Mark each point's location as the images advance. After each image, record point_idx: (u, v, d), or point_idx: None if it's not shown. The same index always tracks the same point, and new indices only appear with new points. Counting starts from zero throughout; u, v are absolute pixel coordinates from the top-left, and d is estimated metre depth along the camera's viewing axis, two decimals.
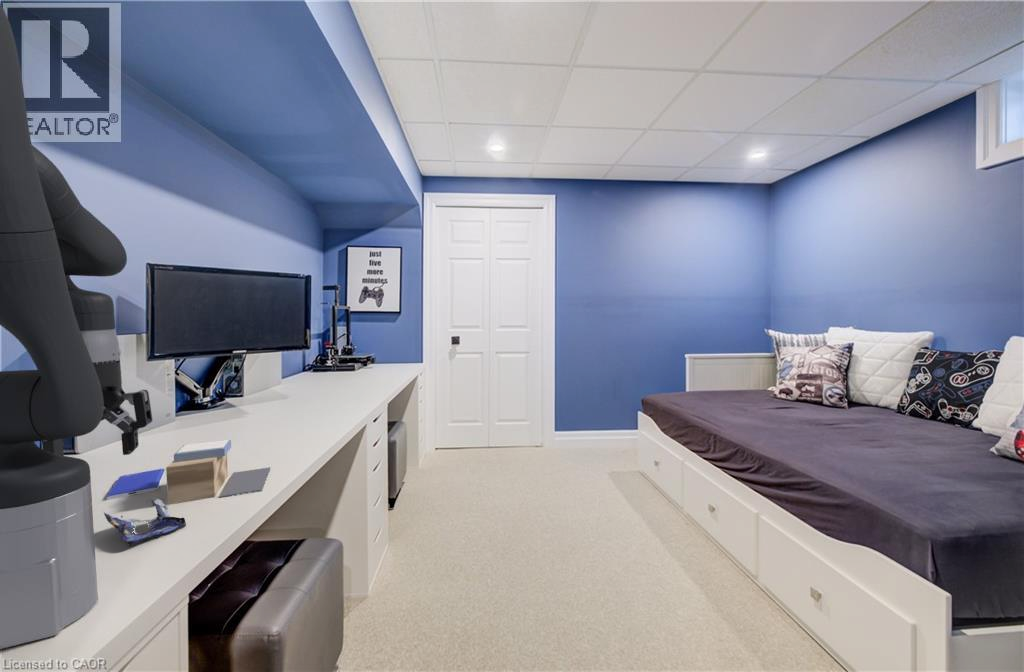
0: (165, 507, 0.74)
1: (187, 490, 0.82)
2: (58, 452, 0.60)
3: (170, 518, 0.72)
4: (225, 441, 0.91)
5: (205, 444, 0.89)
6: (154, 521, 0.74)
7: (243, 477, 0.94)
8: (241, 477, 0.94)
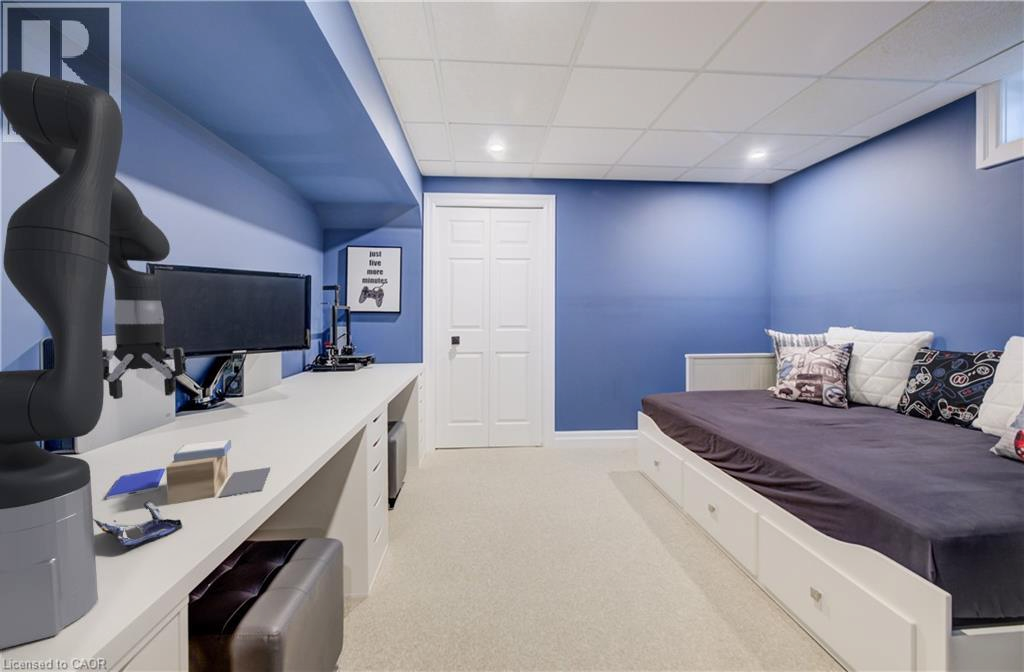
0: (157, 510, 0.73)
1: (187, 490, 0.82)
2: (119, 391, 0.81)
3: (165, 521, 0.71)
4: (225, 441, 0.91)
5: (205, 444, 0.89)
6: (146, 525, 0.72)
7: (243, 477, 0.94)
8: (241, 477, 0.94)
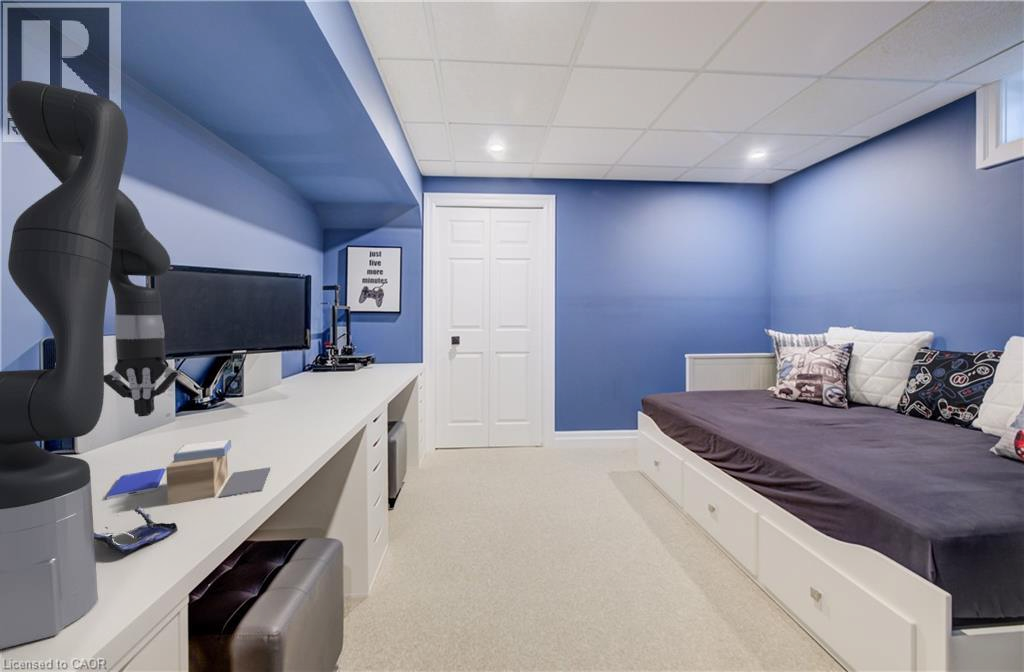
0: (148, 515, 0.71)
1: (187, 490, 0.82)
2: None
3: (159, 525, 0.70)
4: (225, 441, 0.91)
5: (205, 444, 0.89)
6: (136, 531, 0.70)
7: (243, 477, 0.94)
8: (241, 477, 0.94)
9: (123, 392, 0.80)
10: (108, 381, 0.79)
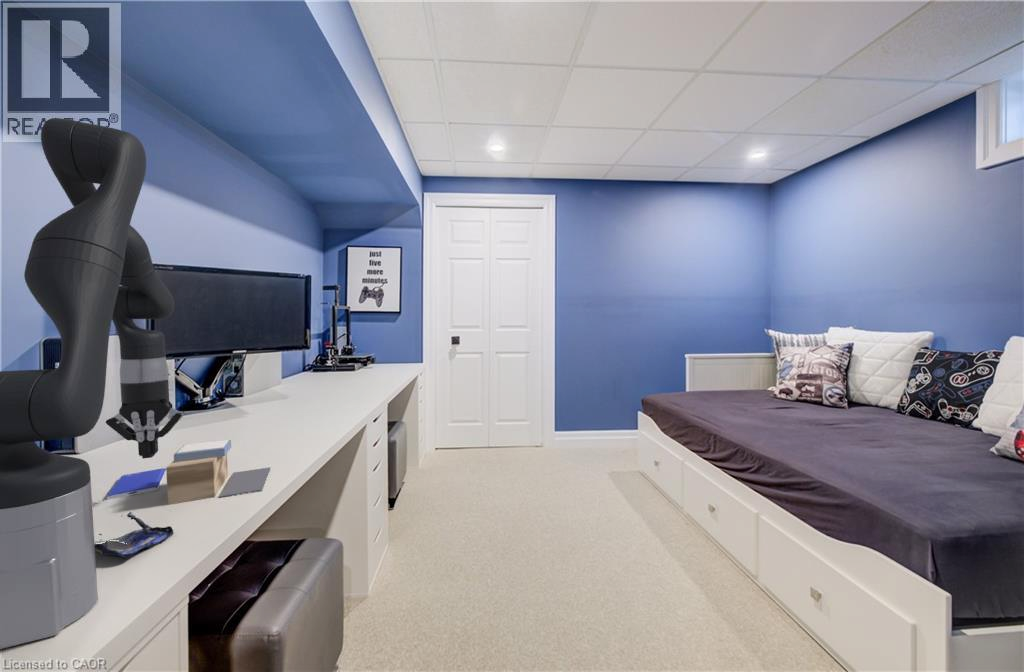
0: None
1: (187, 490, 0.82)
2: None
3: (154, 529, 0.69)
4: (225, 441, 0.91)
5: (205, 444, 0.89)
6: (127, 537, 0.68)
7: (243, 477, 0.94)
8: (241, 477, 0.94)
9: (127, 435, 0.81)
10: (113, 425, 0.80)
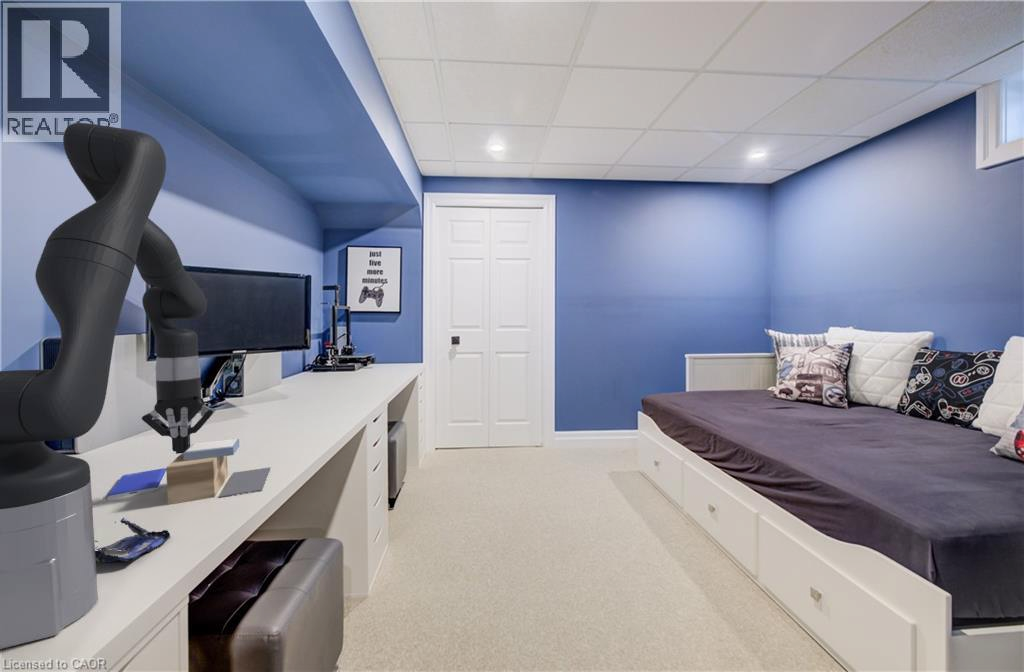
0: None
1: (187, 490, 0.82)
2: None
3: (150, 533, 0.67)
4: (233, 440, 0.92)
5: (214, 443, 0.90)
6: (119, 545, 0.66)
7: (243, 477, 0.94)
8: (241, 477, 0.94)
9: (162, 431, 0.84)
10: (148, 421, 0.83)
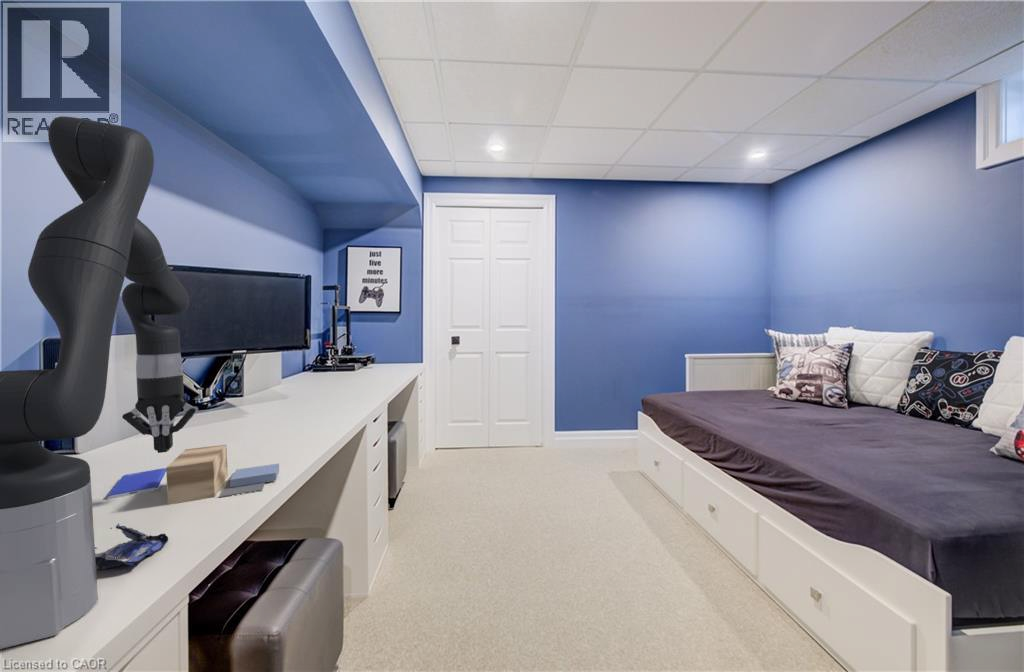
0: None
1: (187, 490, 0.82)
2: None
3: (148, 538, 0.66)
4: None
5: None
6: (113, 552, 0.64)
7: None
8: None
9: (143, 429, 0.82)
10: (129, 419, 0.81)
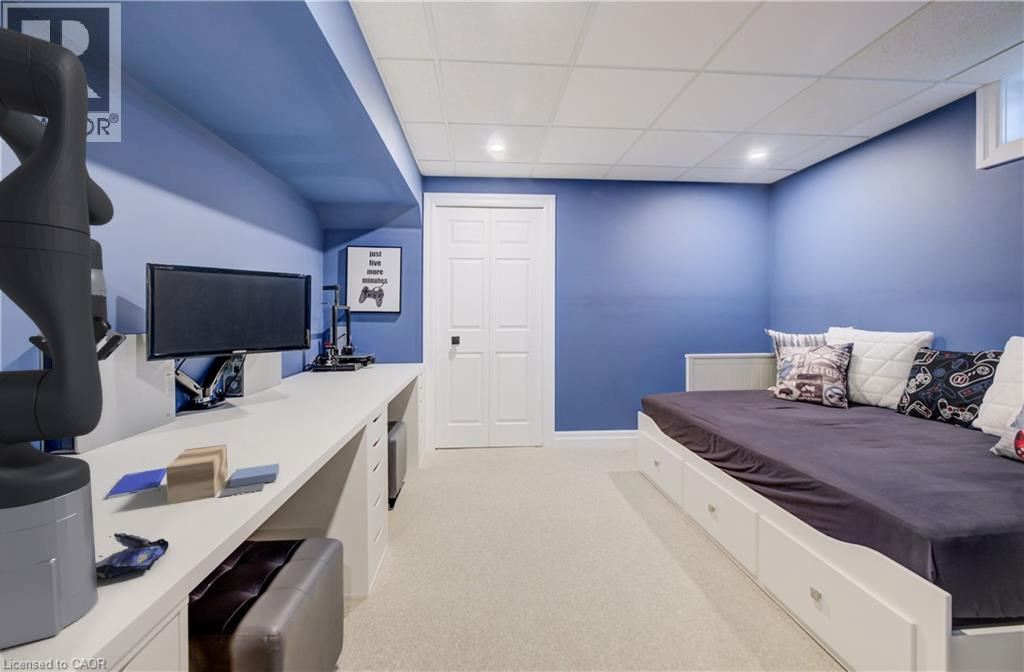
0: None
1: (187, 490, 0.82)
2: None
3: (147, 543, 0.64)
4: None
5: None
6: (109, 562, 0.62)
7: None
8: None
9: None
10: (37, 343, 0.69)
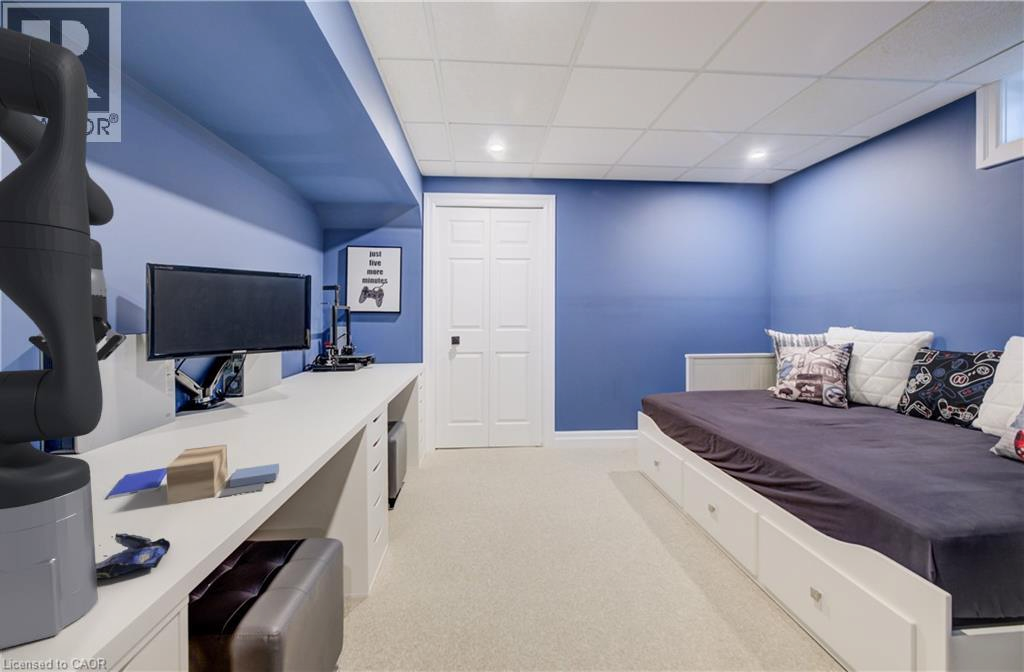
0: None
1: (187, 490, 0.82)
2: None
3: None
4: None
5: None
6: (109, 563, 0.61)
7: None
8: None
9: None
10: (37, 343, 0.69)
